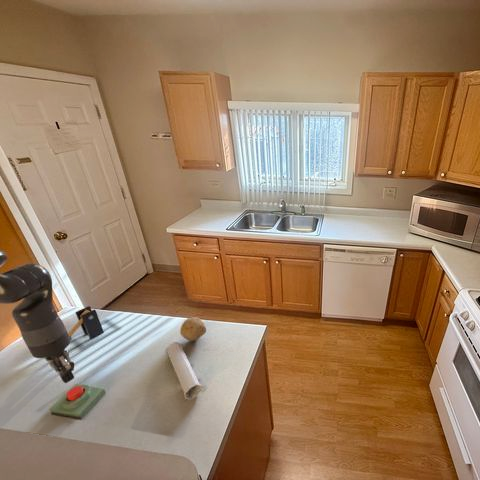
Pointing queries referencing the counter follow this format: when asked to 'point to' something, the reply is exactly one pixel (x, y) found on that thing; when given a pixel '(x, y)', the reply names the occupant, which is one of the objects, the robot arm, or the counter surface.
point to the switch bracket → (90, 322)
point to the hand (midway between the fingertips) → (68, 379)
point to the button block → (78, 402)
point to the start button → (75, 393)
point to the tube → (184, 371)
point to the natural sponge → (192, 329)
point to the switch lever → (77, 325)
